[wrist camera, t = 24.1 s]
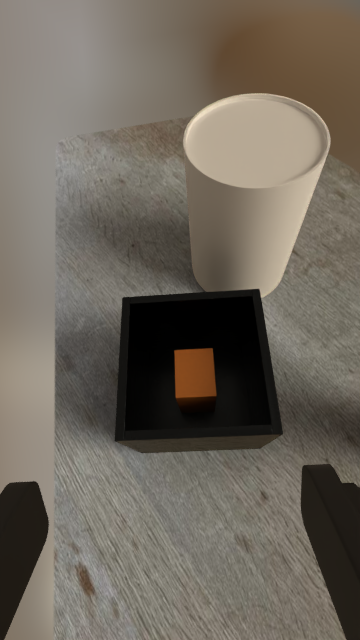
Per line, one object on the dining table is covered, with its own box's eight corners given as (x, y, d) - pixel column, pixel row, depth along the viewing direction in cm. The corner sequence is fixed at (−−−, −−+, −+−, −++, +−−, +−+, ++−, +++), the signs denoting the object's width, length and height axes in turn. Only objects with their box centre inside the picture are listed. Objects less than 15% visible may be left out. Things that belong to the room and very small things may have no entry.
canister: (301, 283, 46) (360, 159, 29) (213, 316, 45) (217, 207, 27) (258, 217, 52) (285, 79, 34) (179, 244, 51) (164, 116, 33)
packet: (181, 413, 39) (175, 398, 32) (180, 372, 41) (174, 350, 34) (214, 411, 39) (216, 396, 32) (211, 371, 41) (212, 347, 34)
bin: (141, 453, 38) (114, 441, 27) (143, 344, 44) (122, 297, 33) (260, 448, 37) (283, 434, 26) (245, 338, 43) (259, 288, 32)
